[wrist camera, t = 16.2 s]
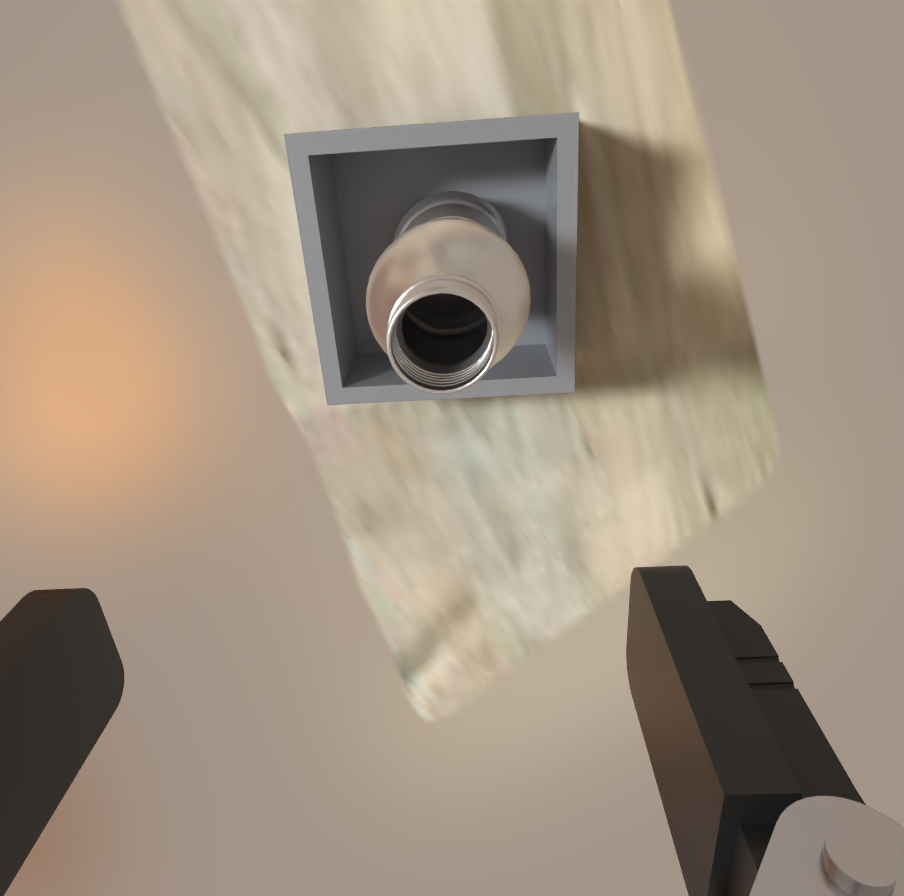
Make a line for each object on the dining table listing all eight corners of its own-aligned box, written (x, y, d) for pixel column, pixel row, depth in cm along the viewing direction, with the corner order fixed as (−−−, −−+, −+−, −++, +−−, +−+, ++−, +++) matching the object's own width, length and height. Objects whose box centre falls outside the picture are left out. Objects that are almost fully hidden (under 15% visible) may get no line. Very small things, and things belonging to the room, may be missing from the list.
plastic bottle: (377, 217, 39) (301, 295, 21) (483, 166, 37) (499, 202, 20) (424, 316, 41) (392, 462, 23) (525, 271, 40) (573, 389, 22)
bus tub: (314, 132, 38) (283, 134, 32) (560, 114, 37) (578, 112, 31) (347, 365, 44) (327, 405, 38) (559, 353, 43) (574, 392, 37)
